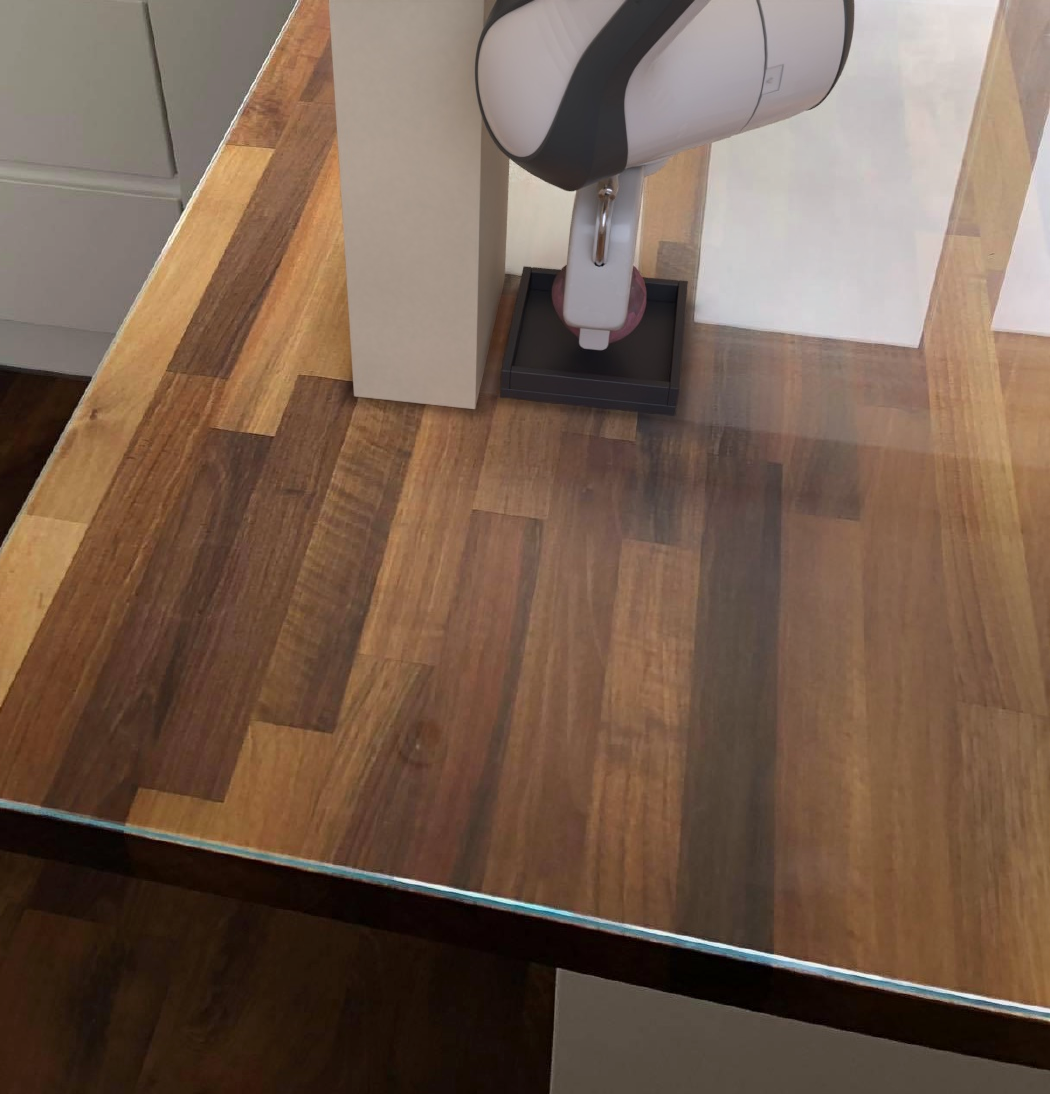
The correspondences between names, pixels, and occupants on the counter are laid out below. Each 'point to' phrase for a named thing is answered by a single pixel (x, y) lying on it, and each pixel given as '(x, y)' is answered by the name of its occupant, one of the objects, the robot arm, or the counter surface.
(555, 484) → the counter surface
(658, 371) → the pan
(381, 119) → the column
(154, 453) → the counter surface
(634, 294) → the vegetable
